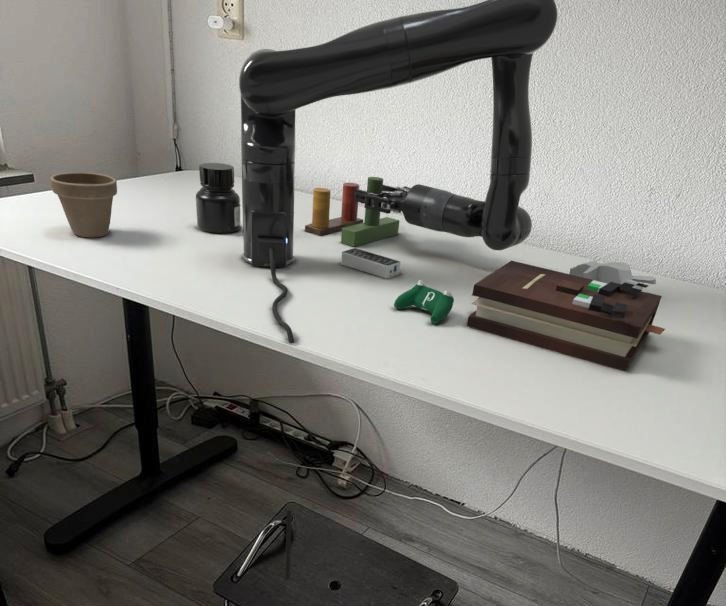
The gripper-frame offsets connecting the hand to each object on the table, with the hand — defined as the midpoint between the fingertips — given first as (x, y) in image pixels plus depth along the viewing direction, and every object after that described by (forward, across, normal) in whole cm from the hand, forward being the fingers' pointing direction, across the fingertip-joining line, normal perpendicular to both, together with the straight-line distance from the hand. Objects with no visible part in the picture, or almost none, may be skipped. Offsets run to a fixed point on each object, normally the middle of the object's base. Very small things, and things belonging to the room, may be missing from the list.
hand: (367, 192), depth 138 cm
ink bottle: (+22, +21, +9) cm, 32 cm away
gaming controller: (-34, +28, +9) cm, 45 cm away
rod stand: (+8, 0, +9) cm, 12 cm away
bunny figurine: (-51, -10, +9) cm, 53 cm away
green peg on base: (-2, 0, +9) cm, 9 cm away
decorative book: (-53, +18, +9) cm, 57 cm away
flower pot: (+34, +44, +9) cm, 56 cm away
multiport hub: (-14, +17, +9) cm, 24 cm away
